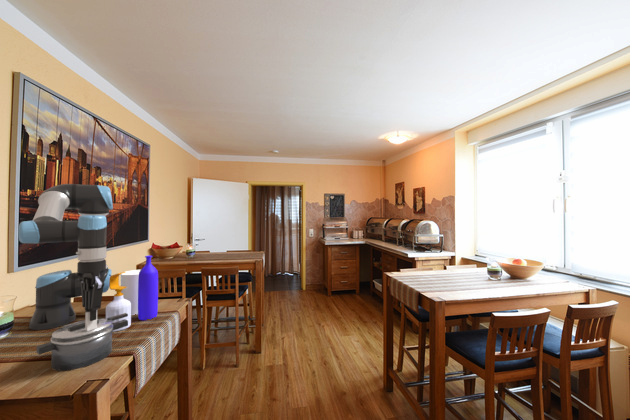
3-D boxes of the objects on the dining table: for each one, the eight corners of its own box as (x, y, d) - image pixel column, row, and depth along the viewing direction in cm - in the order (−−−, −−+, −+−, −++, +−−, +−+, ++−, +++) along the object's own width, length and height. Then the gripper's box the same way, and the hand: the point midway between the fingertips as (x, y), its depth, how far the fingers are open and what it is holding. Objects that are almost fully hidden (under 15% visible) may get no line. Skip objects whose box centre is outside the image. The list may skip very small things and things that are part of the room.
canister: (118, 309, 139) (119, 271, 139) (148, 304, 148) (149, 268, 148) (122, 317, 129) (122, 276, 129) (154, 310, 138) (154, 272, 138)
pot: (29, 366, 88) (29, 339, 88) (116, 336, 109) (116, 314, 109) (46, 382, 79) (47, 352, 79) (137, 346, 101) (137, 323, 101)
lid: (43, 333, 91) (43, 328, 91) (115, 313, 110) (115, 308, 110) (62, 343, 83) (62, 337, 83) (137, 319, 101) (136, 314, 101)
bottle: (154, 312, 135) (154, 254, 135) (160, 316, 130) (161, 255, 130) (135, 317, 129) (135, 256, 129) (141, 322, 123) (142, 257, 124)
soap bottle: (117, 333, 112) (118, 275, 113) (100, 331, 114) (100, 274, 114) (135, 324, 121) (136, 270, 121) (119, 322, 123) (119, 269, 123)
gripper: (70, 259, 91) (69, 329, 91) (86, 263, 84) (85, 338, 84) (96, 256, 97) (96, 321, 97) (113, 260, 91) (113, 329, 90)
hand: (91, 329), depth 90 cm, fingers closed
